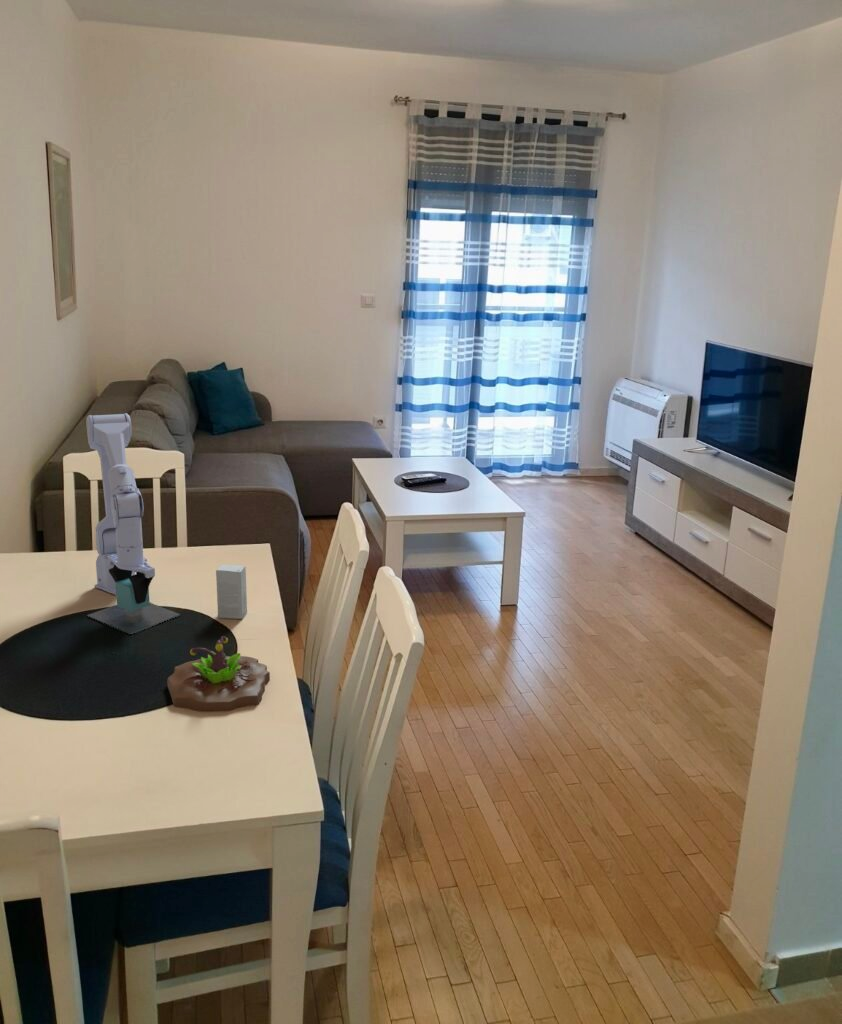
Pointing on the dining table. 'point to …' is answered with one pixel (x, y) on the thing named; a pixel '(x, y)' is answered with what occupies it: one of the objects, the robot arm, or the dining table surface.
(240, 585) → the skincare box
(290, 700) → the dining table surface
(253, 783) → the dining table surface
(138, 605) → the teal box
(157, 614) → the dark grey square tile
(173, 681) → the plant
